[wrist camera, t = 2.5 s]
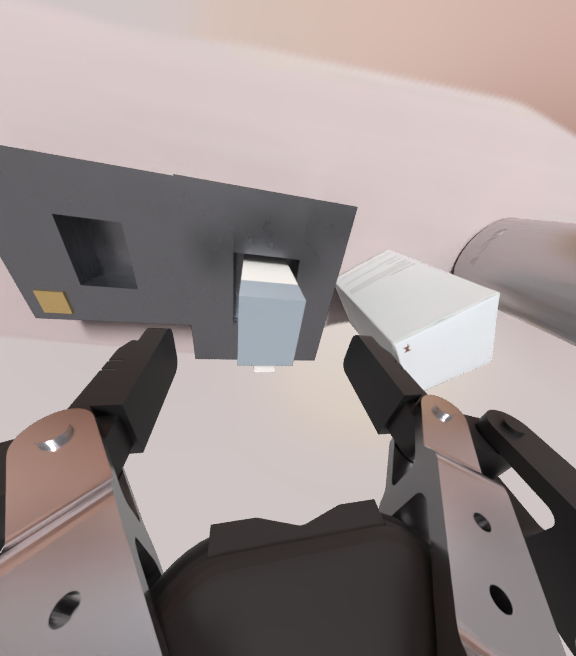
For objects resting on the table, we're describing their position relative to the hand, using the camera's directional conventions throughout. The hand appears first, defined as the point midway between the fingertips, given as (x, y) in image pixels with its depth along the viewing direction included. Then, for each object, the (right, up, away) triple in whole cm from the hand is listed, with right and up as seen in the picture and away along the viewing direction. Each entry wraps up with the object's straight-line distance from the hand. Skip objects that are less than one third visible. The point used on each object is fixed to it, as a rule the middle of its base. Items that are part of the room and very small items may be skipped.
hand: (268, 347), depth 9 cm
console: (-9, +8, +11) cm, 16 cm away
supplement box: (+11, +6, +16) cm, 20 cm away
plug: (-1, +5, +7) cm, 9 cm away
